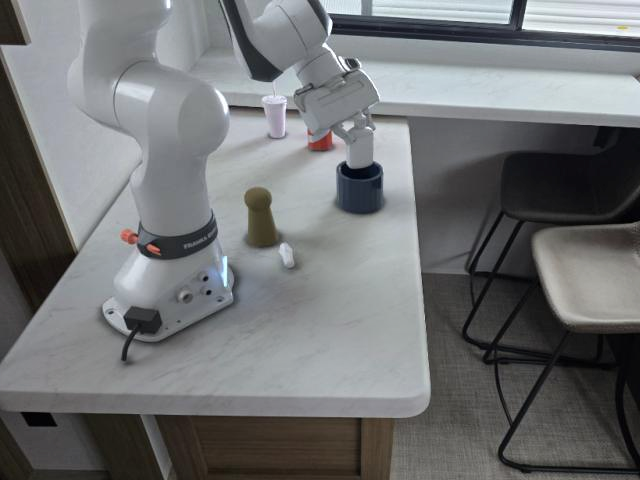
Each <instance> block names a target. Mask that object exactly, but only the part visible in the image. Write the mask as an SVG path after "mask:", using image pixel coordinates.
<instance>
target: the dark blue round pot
mask: <svg viewBox="0 0 640 480" xmlns="http://www.w3.org/2000/svg"><path fill="white" fill-rule="evenodd" d="M384 171H385V170H384V167H383V166H382V164H380V163H379V162H377V161H375V160H373V163H372V164H371V165H370V166H367V167H364V168H358V169H352V168H350V167H349V166H348V165H347V163H346V160H343V161H341V162H340V163H339V164H338V165H336V169H335V181H336V184H335V185H336V204H337V205H338V207H339V208H340V209H341V210H343V211H345V212H347V213H351V214H355V215H356V214H358V215H359V214H360V215H364V214H370V213H374V212H376V211H378V210H379V209H380V208H381V207H382V205H383V201H384V199H383V198H384V196H383V195H384V176H385V175H384V174H385V172H384Z"/></svg>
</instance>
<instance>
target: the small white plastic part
mask: <svg viewBox="0 0 640 480" xmlns="http://www.w3.org/2000/svg"><path fill="white" fill-rule="evenodd" d="M278 253H279V255H280V257H281V259H282V261H283V265H284V267H285V268H286V269H291V268H293V267H294V266H295V260H294V256H293V247H290V245H289V244H288V243H287V242H282V243H281V244H279V249H278Z"/></svg>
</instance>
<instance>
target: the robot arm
mask: <svg viewBox="0 0 640 480" xmlns="http://www.w3.org/2000/svg"><path fill="white" fill-rule="evenodd" d="M76 2H77V7H78V12H79V13H78V14H79V21H80V23H79V25H80V39H79V41H80V42H79V51H78V55H77V56H76V57H75V58H74V59H73V60H72V62H71V64H70V65H69V68H68V70H67V74H66V88H67V92H68V93H67V94H69V95H68V96H69V98H70V100H71V101H72V104H73V105H74V106H75V107H76V108H77V109H78V110H79V111H80V112H82V113H83V114H85V115H86V116H87V117H88V118H89V119H91V120H93V121H94V122H95V123H97V124H98V125H100V126H102V127H104V128H107V129H109V130H112V131H114V132H117V133H120V134H123V135H124V136H127V137H130V138H133V139H134V140H135V142H136V143H137V144H138V146H139V148H140V151H141V156H142V157H141V158H142V159H141V160H142V161H141V163H140V164H138V165H137V167H135V169H134V170H133V171H132V173H131V175H130V178H129V187H130V191H131V194H132V197H133V201H134V204H135V207H136V210H137V215H138V218H139V221H138V228H137V233H136V232H133V231H132V230H131V229H128V228H126V229H123V230H122V231H121V232H120V237H119V238H120V239H121V241H123V242H124V243H127V244H128V245H136V246H135V248H134V249H133V251H131V254H130V255H128V257H127V259H126V260H125V262H124V264H123V265H122V266H121V268H120V269H119V270H118V272H117V273H116V274H115V275H114V277H113V278H112V284H111V285H112V287H111V288H112V296H111V297H110V298H109V299H107V300H106V301H105V302H104V303H103V304H102V313H103V316H104V319H105V320H106V321H107V322H108V324H109V325H110V326H112V327H113V328H114V329H115V330H117V331H118V332H119V333H122V335H124V336H126V337H127V338H126V340H125V342H124V344H123V347H122V351H121V358H120V361H123V362H126V361H127V359H128V352H129V348H130V346H131V344H132V341H133V340H136V341H140V342H147V343H148V342H149V343H157V342H160V341H163V340H165V339H166V338H168V337H170V336H172V335H174V334H176V333H177V332H178V333H179V332H180V331H181V330H183V329H185V328H187V327H189V326H191V325H193V324H195V323H197V322H199V321H201V320H203V319H205V318H206V317H209V316H210V315H212V314H215V313H216V312H218V311H220V310H222V309H224V308H227V307H228V306H230V305H232V304H233V303H234V295H233V292H232V290H233V287H234V283H235V275H234V273H233V271H232V269H231V268H230V266H229V264H228V258H227V255H225V256H224V253H223V250H222V247H221V244H220V240H219V238H218V234H219V229H218V224H217V222H218V221H217V218H216V215H215V212H214V210H213V209H212V207H211V202H210V196H209V191H208V183H207V178H206V175H207V174H206V171H207V169H206V168H207V164H208V163H207V161H208V159H209V156H210V155H211V154H212V153H214V152H216V151H217V150H218V149H219V148H220V147H221V145H222V144H223V143H224V141H225V140H226V138H227V136H228V134H229V129H230V126H231V125H230V124H231V114H230V108H229V107H230V106H229V103H228V102H227V99H226V98H225V96H224V94H223V93H222V92H221V91H220V89H217V88H216V87H214V86H213V85H212V84H210V83H209V82H207V81H205V80H203V79H201V78H200V77H198V76H197V75H195V74H194V73H191V72H188V71H184V70H181V69H179V68H176V67H172V66H169V65H166V64H162V63H161V62H160V61H159V58H158V55H157V40H158V39H157V38H158V33H159V30H161V29H162V28H163V27H164V26H165V25H167V24H168V23H169V21H170V20H171V18H172V17H173V13H174V1H173V0H76ZM217 3H218V5H219V8H220V11H221V13H222V17H223V19H224V22H225V25H226V27H227V31H228V33H229V37H230V40H231V45H232V48H233V52H234V55H235V58H236V60H237V63H238V64H239V67H241V70H243V72H244V73H245V74H246V75H247V76H248V77H249V78H250V79H251V80H253V81H257V82H261V83H271V84H272V82H273V81H274V82H275V80H276V79H278V78H279V77H280V76H281V75H283V74H284V72H285V71H287V70H288V69H291V67H292V69H293V71H294V74H295V76H296V78H297V80H298V81H299V82H300V84H301V86H302V87H299V88H297V89H295V90H294V92H293V95H292V98H293V99H292V101H293V102H294V105H295V106H296V107H297V109H298V112H299V115H300V117H301V118H302V120H303V122H304V124H305V126H306V127H308V129H309V131H310V132H311V133H312V134H314V135H315V136H319V135H321V134H322V133H324V132H326V131H328V130H330V129H331V130H332V134H334V135H335V136H336V137H338V138H340V139H341V140H342V141H344V143H345V146H346V145H347V146H349V145H351V144H352V143H354V142H355V141H356V138H355V137H354V135H353V133H350V134H349V133H348V132H347V131H348V130H346V129H344V127H345V126H344V124H343V123H345V122H347V121H349V120H351V119H352V118H353V119H354V116H355V115H357V114H358V110H362V114H363V115H364V116H366V126H368V127H370V128H371V129H372V130H373V132H375V131H376V130H377V129H376V128H377V127H376V125H375V124H374V123H373V120H372V119H373V118H372V113H371V110H370V109H371V108H373V107H374V106H375V105H377V104H378V103H379V102H380V99H381V98H380V93H379V91H378V89H377V87H376V86H375V84H374V82H373V81H372V80H371V78H370V77H369V75H368V74H367V73H366V72H365V71H363V70H362V69H360V68H361V67H362V64H361V62H360V61H359V60H358V59H357V58H356V57H345V56H340V55H337V56H336V54H335V52H334V50H332V49H331V47H329V46H328V45H327V44H326V42H327V41H328V40H329V39H330V36H331V33H332V28H333V20H332V19H331V17H330V15H329V13H328V12H327V11H326V8H324V6H323V4H322V2H321V1H320V0H270V1H269V2H268V3H267V5H266V6H265V8H264V10H263V13H262V15H260V16H258V17H257V18H256V19H254V20H253V19H252V15H251V13H250V9H249V6H248V3H247V0H217Z"/></svg>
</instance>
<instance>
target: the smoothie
mask: <svg viewBox="0 0 640 480" xmlns="http://www.w3.org/2000/svg"><path fill="white" fill-rule="evenodd" d="M271 86H272V87H271V88H272V94H267V95H264V96H263V97H261V105H262V106H263V110H264V113H265V119H266V122H267V127H268V131H269V136H270V137H271V138H274V139H281V138H284V137H285V133H286V132H285V130H286V111H287V104H288V101H287V97H286V96H285V95H281V94H276V86H275V80H274V81H273V82H271Z"/></svg>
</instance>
